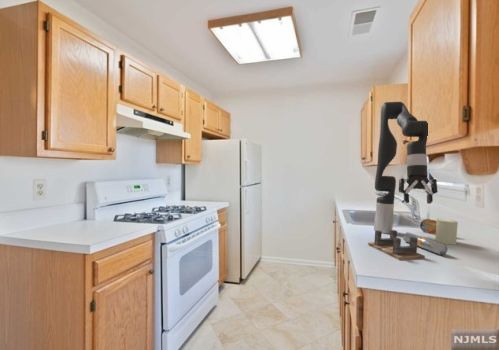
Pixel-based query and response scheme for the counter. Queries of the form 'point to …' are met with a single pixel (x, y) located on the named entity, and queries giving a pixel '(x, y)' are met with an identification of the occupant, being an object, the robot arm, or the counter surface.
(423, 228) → the tin
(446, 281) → the counter surface
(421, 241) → the tube
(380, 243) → the cradle stand
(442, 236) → the can
